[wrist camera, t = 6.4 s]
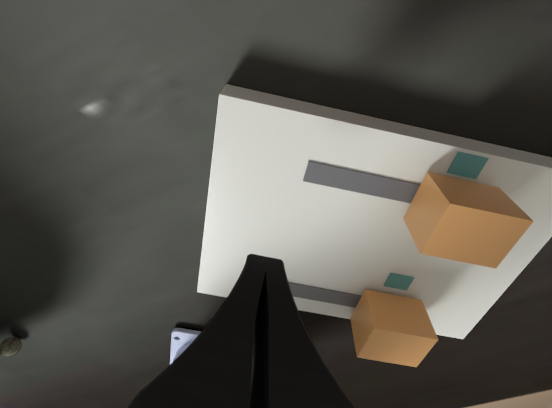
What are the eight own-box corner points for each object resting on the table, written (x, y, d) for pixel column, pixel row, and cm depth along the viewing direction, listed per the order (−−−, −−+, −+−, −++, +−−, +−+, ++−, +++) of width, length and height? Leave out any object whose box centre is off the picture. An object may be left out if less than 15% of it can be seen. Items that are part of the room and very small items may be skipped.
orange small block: (469, 231, 19) (495, 268, 16) (403, 217, 19) (419, 253, 16) (498, 187, 17) (533, 221, 15) (427, 171, 17) (449, 203, 15)
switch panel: (452, 316, 26) (463, 340, 25) (203, 271, 25) (196, 293, 23) (573, 162, 19) (602, 180, 17) (226, 83, 17) (218, 94, 16)
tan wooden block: (403, 327, 24) (416, 367, 21) (350, 317, 24) (356, 357, 21) (422, 300, 22) (438, 339, 20) (364, 289, 22) (374, 328, 19)
